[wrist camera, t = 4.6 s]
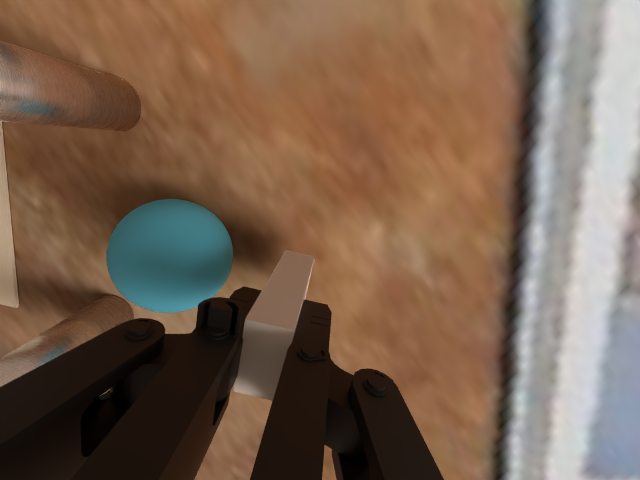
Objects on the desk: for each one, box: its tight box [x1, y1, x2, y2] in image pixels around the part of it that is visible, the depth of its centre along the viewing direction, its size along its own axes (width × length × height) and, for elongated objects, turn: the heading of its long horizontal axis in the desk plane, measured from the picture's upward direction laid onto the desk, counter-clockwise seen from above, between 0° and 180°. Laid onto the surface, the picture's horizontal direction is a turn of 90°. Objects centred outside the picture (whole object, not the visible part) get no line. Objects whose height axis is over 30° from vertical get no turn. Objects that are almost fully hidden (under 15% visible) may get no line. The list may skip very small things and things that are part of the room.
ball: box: [107, 199, 233, 313], centre depth 15 cm, size 6×6×6 cm
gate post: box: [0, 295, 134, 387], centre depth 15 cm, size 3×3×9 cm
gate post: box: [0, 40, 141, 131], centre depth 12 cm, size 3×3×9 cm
